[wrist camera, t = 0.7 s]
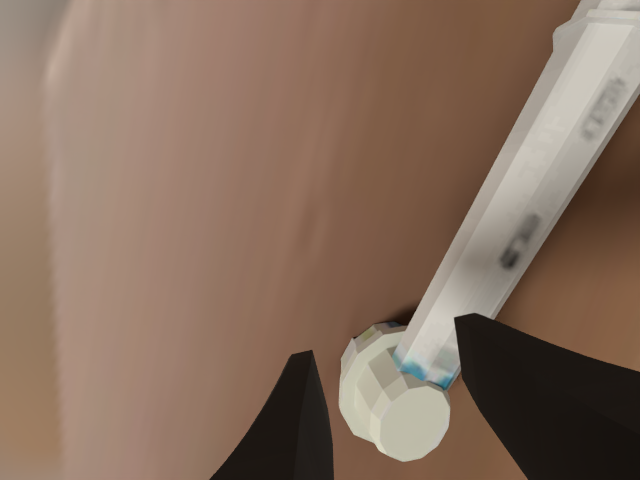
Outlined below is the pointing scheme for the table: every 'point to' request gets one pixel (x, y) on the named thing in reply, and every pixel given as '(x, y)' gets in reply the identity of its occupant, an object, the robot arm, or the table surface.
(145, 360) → the table surface
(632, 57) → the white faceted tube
